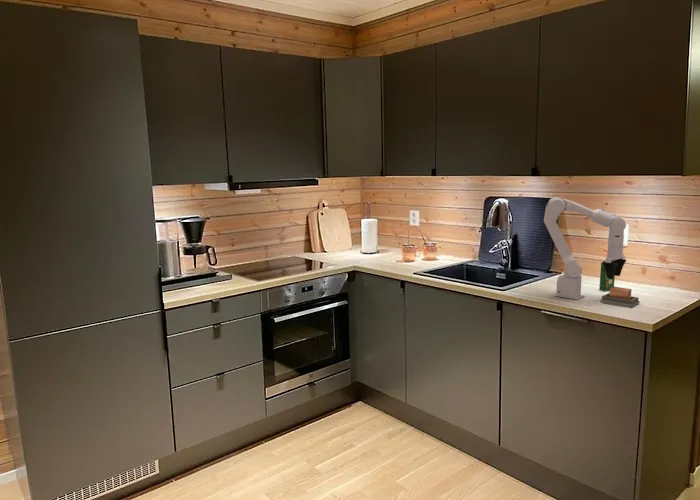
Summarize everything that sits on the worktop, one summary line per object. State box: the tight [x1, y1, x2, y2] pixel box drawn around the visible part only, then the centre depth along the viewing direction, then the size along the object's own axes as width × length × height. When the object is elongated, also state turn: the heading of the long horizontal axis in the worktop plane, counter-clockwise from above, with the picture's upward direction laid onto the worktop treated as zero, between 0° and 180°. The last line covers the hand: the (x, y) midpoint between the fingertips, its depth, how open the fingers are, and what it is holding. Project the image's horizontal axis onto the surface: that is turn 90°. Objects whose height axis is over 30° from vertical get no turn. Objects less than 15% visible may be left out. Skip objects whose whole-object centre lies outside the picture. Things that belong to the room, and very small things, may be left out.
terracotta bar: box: [609, 286, 632, 300], centre depth 217 cm, size 4×7×5 cm, turn 44°
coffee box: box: [598, 261, 616, 292], centre depth 240 cm, size 8×3×13 cm, turn 124°
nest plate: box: [599, 292, 640, 309], centre depth 218 cm, size 12×9×3 cm
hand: (613, 277), depth 224 cm, fingers open, 7 cm apart
